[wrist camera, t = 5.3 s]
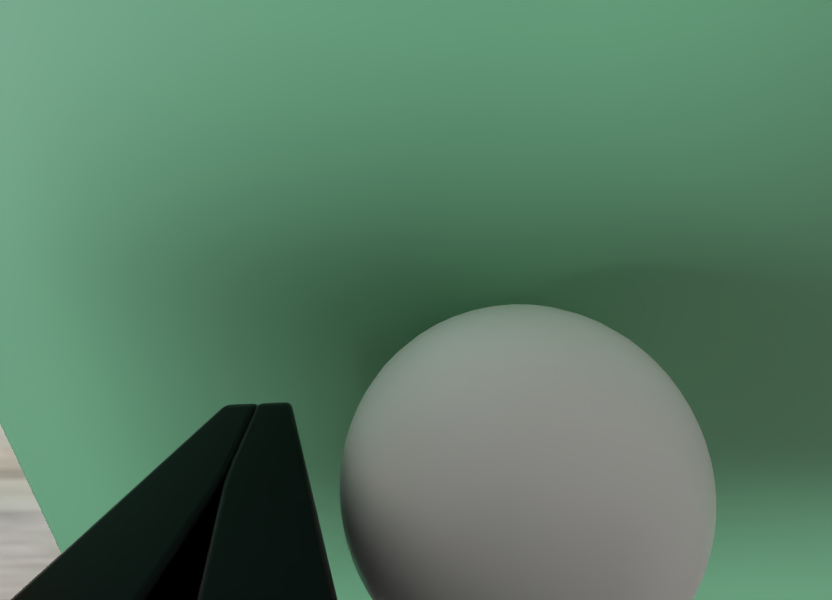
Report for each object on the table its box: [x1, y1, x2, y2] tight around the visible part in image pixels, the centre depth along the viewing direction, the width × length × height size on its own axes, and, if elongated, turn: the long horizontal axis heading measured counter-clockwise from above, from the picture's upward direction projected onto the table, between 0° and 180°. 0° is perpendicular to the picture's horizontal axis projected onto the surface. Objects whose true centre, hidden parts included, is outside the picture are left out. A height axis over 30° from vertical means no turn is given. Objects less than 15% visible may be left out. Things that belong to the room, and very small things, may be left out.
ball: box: [340, 304, 716, 600], centre depth 7 cm, size 4×4×4 cm
